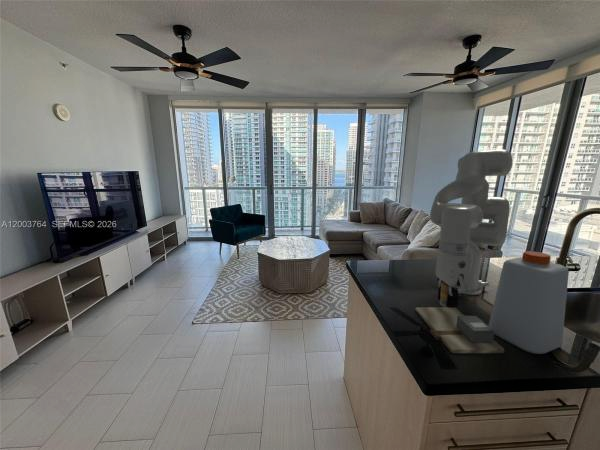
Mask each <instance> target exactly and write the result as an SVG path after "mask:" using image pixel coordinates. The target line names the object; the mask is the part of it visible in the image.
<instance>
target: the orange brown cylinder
mask: <svg viewBox="0 0 600 450" xmlns="http://www.w3.org/2000/svg"><path fill="white" fill-rule="evenodd" d="M455 285H456V284H455ZM455 289H456V288H453V290H455ZM447 295H449V285H448V284H447V283H445V282H442V284H441V294H440V300H439V305H440V307H441V306H442V307H446V308H454V307H447V306H446V303H447Z"/></svg>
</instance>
